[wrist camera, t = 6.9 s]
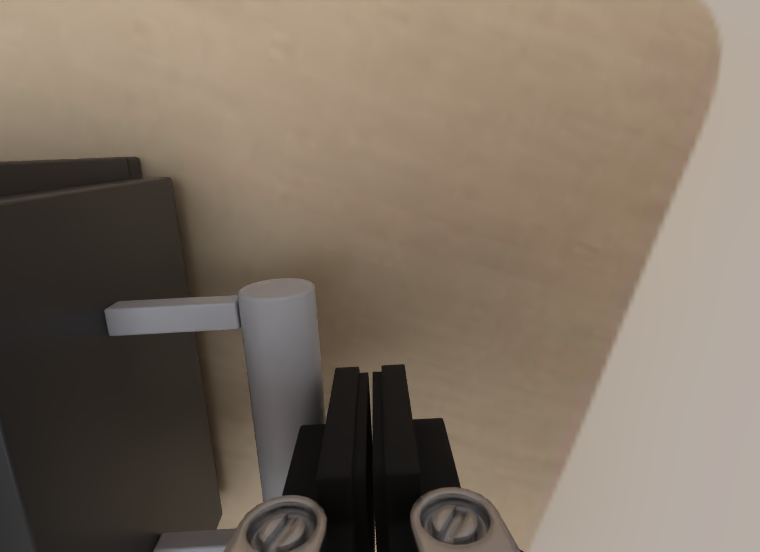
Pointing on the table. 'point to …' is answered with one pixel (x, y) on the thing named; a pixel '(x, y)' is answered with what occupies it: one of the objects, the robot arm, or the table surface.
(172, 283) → the drawer with pull handle
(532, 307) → the table surface
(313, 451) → the robot arm
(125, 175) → the drawer cabinet casing
